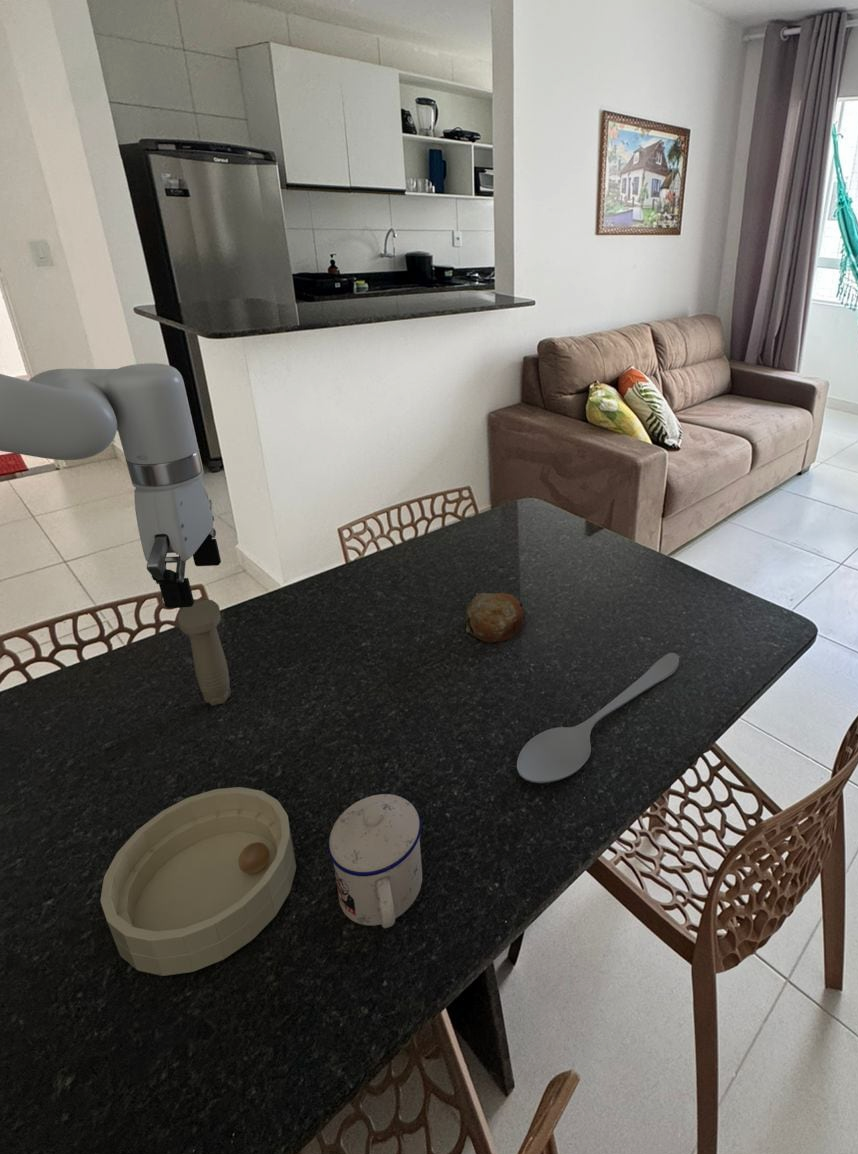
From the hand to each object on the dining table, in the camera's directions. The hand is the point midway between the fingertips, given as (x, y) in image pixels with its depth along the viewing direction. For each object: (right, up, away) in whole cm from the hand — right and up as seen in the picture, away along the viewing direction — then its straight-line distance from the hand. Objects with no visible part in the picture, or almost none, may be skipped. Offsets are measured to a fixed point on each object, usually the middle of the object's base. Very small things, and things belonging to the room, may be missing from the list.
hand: (195, 584), depth 88 cm
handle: (-1, -18, +8) cm, 20 cm away
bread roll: (+36, -12, +27) cm, 46 cm away
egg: (+16, -27, -16) cm, 35 cm away
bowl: (+12, -30, -18) cm, 37 cm away
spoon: (+55, -21, +9) cm, 60 cm away
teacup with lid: (+31, -31, -17) cm, 47 cm away
